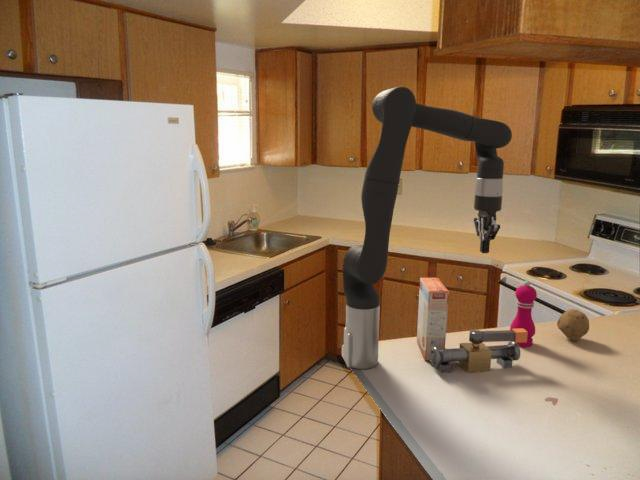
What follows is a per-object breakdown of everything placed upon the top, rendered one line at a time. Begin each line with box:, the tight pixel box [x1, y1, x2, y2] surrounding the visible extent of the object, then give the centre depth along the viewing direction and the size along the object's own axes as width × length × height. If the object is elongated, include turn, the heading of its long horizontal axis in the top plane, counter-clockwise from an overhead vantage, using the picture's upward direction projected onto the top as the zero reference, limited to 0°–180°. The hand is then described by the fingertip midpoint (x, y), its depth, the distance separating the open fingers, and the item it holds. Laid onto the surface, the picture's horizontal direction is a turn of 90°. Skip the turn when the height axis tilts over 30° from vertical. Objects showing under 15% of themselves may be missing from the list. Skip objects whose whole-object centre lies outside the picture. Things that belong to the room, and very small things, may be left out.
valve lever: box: [468, 328, 528, 343], centre depth 139 cm, size 16×4×3 cm, turn 94°
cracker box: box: [416, 277, 450, 361], centre depth 149 cm, size 14×6×21 cm, turn 179°
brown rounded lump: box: [556, 308, 590, 342], centre depth 159 cm, size 9×9×10 cm
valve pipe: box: [430, 341, 521, 374], centre depth 140 cm, size 24×6×7 cm, turn 100°
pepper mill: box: [509, 280, 538, 348], centre depth 155 cm, size 7×7×20 cm
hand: (484, 252), depth 149 cm, fingers closed
